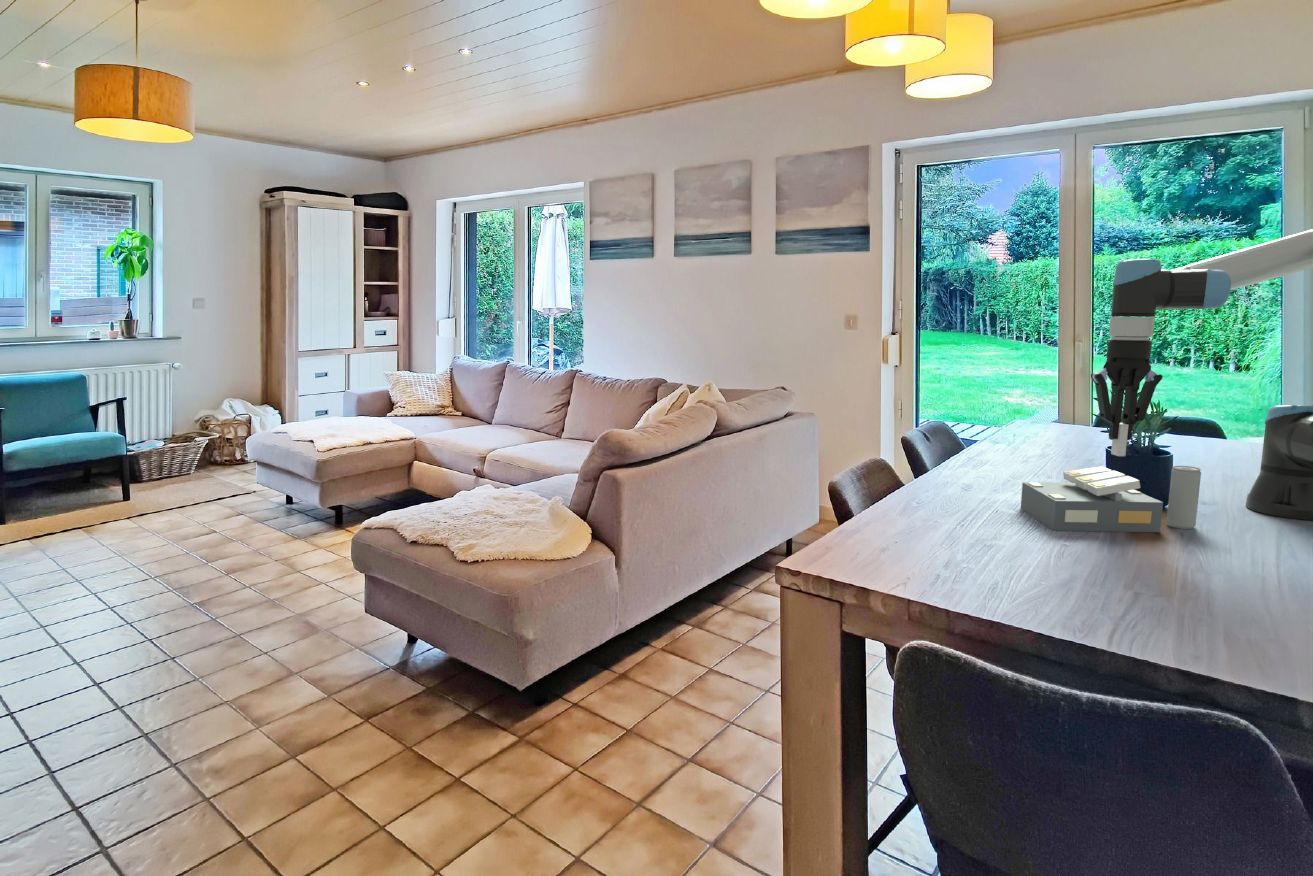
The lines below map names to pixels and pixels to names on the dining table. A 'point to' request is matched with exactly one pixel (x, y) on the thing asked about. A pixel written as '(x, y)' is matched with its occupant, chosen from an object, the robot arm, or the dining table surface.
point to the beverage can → (1183, 497)
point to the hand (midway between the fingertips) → (1118, 454)
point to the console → (1090, 508)
